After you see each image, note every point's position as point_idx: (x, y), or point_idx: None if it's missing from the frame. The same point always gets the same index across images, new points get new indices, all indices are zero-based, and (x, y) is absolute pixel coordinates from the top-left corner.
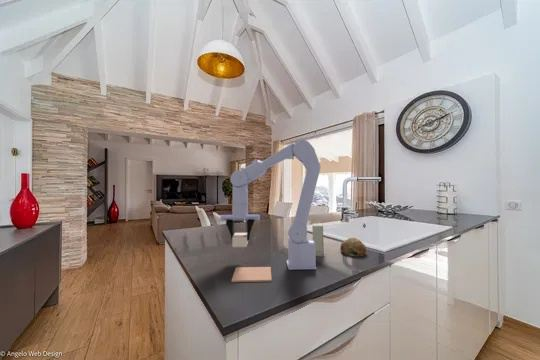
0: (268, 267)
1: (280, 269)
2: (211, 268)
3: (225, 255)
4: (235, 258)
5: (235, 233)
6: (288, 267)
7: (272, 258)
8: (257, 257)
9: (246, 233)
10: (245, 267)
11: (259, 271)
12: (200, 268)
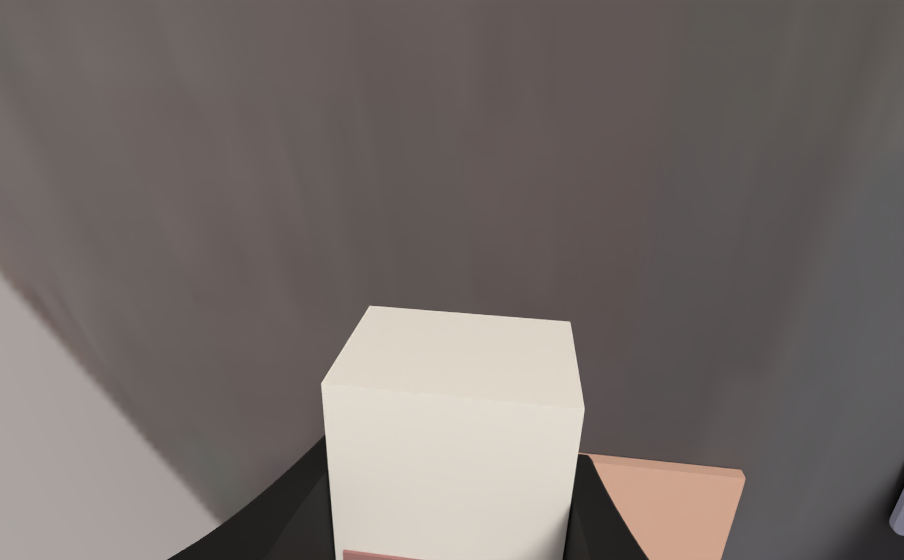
0: (723, 487)
1: (819, 497)
2: (262, 403)
3: (287, 89)
4: (417, 202)
5: (340, 435)
6: (900, 520)
7: (839, 246)
8: (666, 195)
9: (551, 471)
10: None
11: (634, 536)
12: (181, 391)
